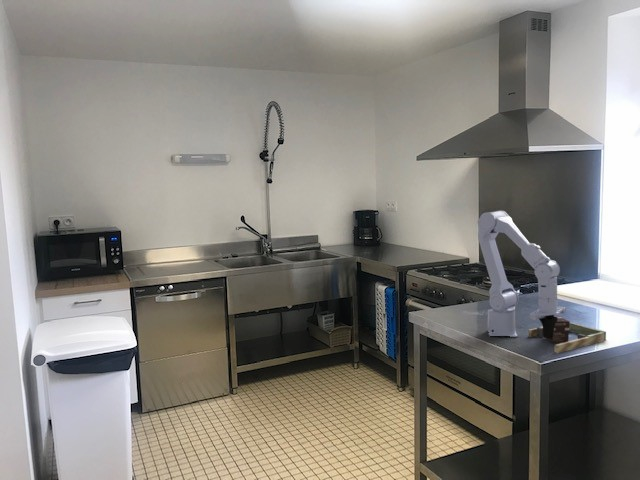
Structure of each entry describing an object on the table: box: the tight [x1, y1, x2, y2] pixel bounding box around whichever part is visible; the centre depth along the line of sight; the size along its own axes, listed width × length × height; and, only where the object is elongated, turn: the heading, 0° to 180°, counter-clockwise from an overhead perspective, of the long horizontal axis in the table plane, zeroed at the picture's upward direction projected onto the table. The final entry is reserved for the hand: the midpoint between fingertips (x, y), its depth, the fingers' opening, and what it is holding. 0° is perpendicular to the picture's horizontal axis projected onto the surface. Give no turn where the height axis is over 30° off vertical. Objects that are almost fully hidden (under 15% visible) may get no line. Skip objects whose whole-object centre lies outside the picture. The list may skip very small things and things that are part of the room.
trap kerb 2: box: [577, 333, 587, 339], centre depth 174 cm, size 1×2×3 cm, turn 26°
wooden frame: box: [528, 322, 607, 354], centre depth 179 cm, size 23×17×3 cm
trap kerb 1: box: [536, 326, 543, 338], centre depth 184 cm, size 1×2×3 cm, turn 26°
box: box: [542, 316, 570, 344], centre depth 178 cm, size 6×6×7 cm
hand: (548, 337), depth 176 cm, fingers closed, pressing on box
